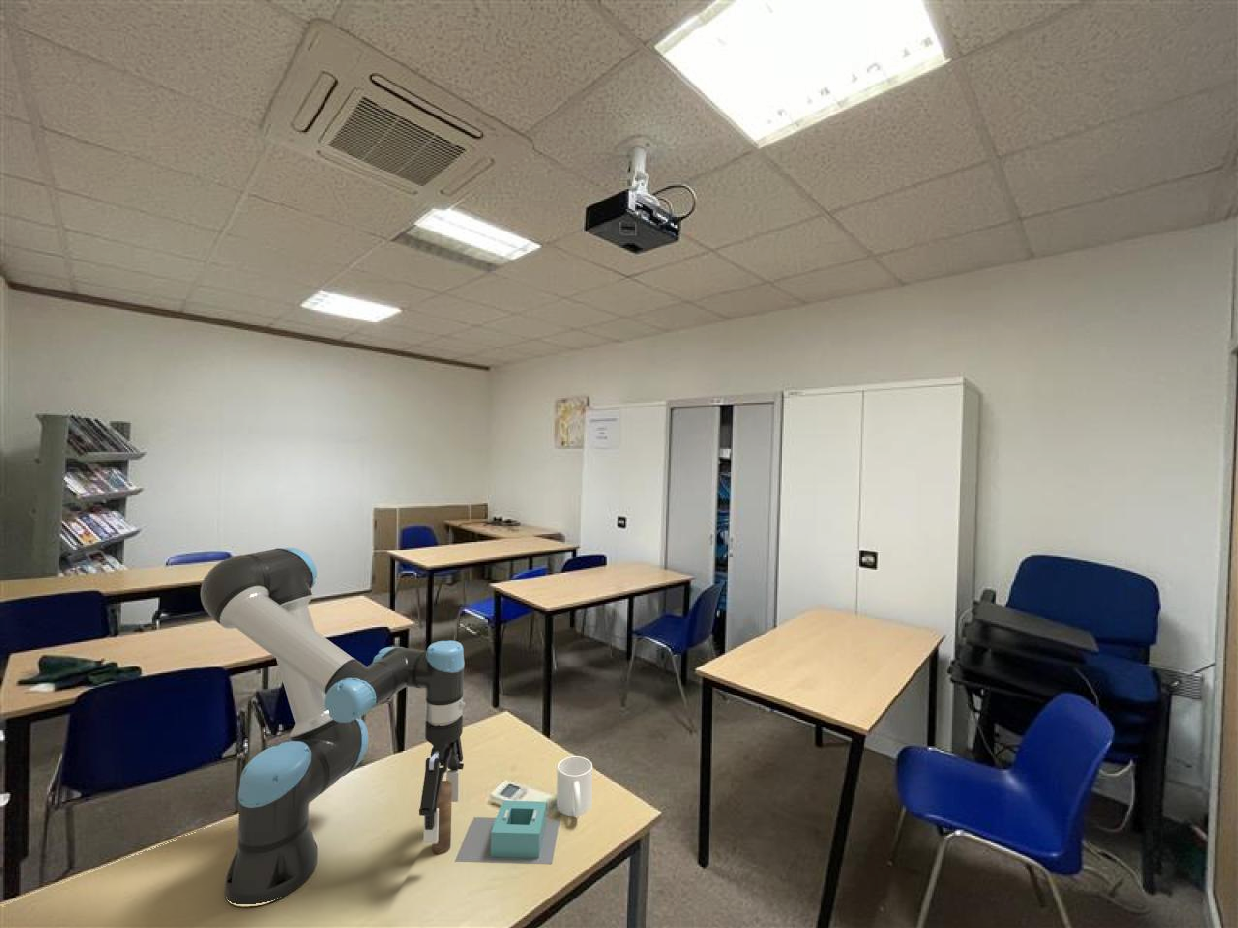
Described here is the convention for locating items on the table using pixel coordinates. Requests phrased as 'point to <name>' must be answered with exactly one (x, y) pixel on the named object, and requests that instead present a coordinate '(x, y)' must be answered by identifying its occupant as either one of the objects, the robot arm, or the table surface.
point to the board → (479, 844)
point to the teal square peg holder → (519, 829)
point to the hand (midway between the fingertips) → (442, 820)
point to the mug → (574, 786)
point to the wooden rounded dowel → (444, 819)
